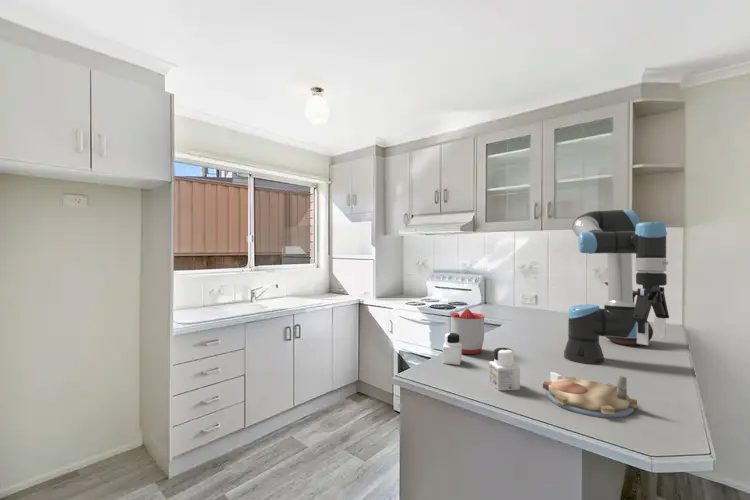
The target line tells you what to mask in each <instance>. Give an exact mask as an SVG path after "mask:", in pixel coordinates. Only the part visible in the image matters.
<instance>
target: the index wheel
mask: <svg viewBox="0 0 750 500" xmlns="http://www.w3.org/2000/svg"><path fill="white" fill-rule="evenodd" d="M627 381H628V380H627V377H626V376H622V375H617V376H616V385H614V384H611V383H606V384H605V383H602V382H598V381H593V380H589V379H588V380H587V379H581V378H576V377H574V376H565V378H562V379H559V380H554V381H546V380H544V382H543V383H542V389H545V390H546V389H548V390H549V393H550V394H551V395H552V396H553V397H555V401H556V402H558V403H560V404H562V405H565V404H569V405H572V406H576V407H579V408H584V409H589V410H595V411H600V412H602V413H603V414H615V411H621V410H625V409H627V408H628V407H629V406H630V407H634V409H635V408H636V409H637V408H638V399H636V398H631V397H630V396H629V395H628V394H627V392H628V391H627V390H628V389H627V384H628V382H627Z"/></svg>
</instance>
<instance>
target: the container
mask: <svg viewBox="0 0 750 500" xmlns="http://www.w3.org/2000/svg"><path fill="white" fill-rule="evenodd" d="M493 351H494V352H493V353H494V355H493V357H494V358H493V359H494V360H493V361H492V360H491V361H489V363H488V365H489V367H488V368H489V370H488V371H489V373H488V375H489V377H488V378H489V380H488V381H489V383H490V384H491V386H493V387H494V388H495V389H496V390H497V391H520V389H521V376H520V375H521V372H520V371H521V368H520V367H519V366H518V365H517V364H515V351H514V350H513V349H511V348H508V347H497V348H495V349H494V350H493Z"/></svg>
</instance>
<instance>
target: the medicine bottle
mask: <svg viewBox="0 0 750 500" xmlns="http://www.w3.org/2000/svg"><path fill="white" fill-rule="evenodd" d="M462 355H463V354H462V346H461V344H459V335H458V334H456V333H451V332H447V333H445V335H444V343H443V346H442V364H447V365H456V366H460V365H461V362H462V361H463V360H462Z"/></svg>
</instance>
